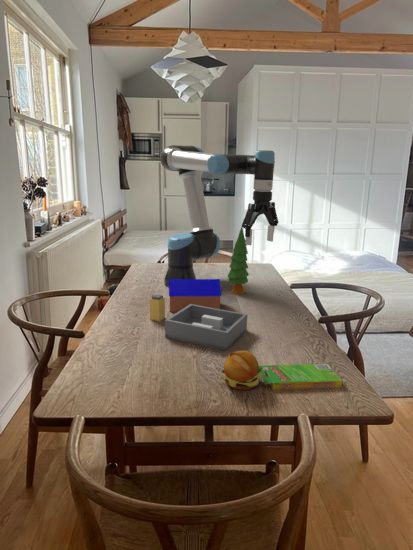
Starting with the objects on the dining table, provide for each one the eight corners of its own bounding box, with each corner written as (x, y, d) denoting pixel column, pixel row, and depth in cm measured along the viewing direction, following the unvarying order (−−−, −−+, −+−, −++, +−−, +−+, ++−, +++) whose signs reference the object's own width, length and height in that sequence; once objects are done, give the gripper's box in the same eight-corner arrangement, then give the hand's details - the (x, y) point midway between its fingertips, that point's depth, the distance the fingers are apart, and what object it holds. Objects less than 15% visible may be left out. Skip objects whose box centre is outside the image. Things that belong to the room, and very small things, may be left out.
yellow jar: (149, 319, 152) (149, 296, 150) (155, 315, 156) (155, 293, 153) (159, 321, 151) (159, 298, 148) (165, 317, 154) (164, 295, 152)
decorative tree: (241, 296, 180) (244, 227, 172) (222, 293, 184) (224, 225, 176) (250, 291, 188) (254, 225, 180) (231, 287, 192) (234, 223, 184)
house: (169, 302, 171) (169, 275, 168) (217, 302, 173) (218, 275, 170) (168, 312, 160) (168, 283, 157) (220, 312, 162) (221, 283, 158)
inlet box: (165, 337, 137) (165, 320, 136) (190, 319, 153) (190, 303, 151) (226, 350, 128) (227, 332, 127) (246, 330, 144) (247, 314, 142)
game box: (341, 391, 109) (265, 390, 107) (326, 373, 119) (256, 372, 116) (342, 380, 109) (266, 379, 106) (328, 363, 118) (257, 362, 116)
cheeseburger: (265, 375, 114) (265, 346, 109) (256, 403, 105) (256, 373, 100) (229, 368, 117) (228, 340, 112) (218, 395, 108) (216, 365, 104)
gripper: (248, 192, 155) (245, 248, 161) (289, 190, 171) (285, 240, 177) (234, 190, 160) (231, 244, 166) (275, 188, 177) (271, 238, 182)
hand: (259, 242), depth 172 cm, fingers open, 13 cm apart
